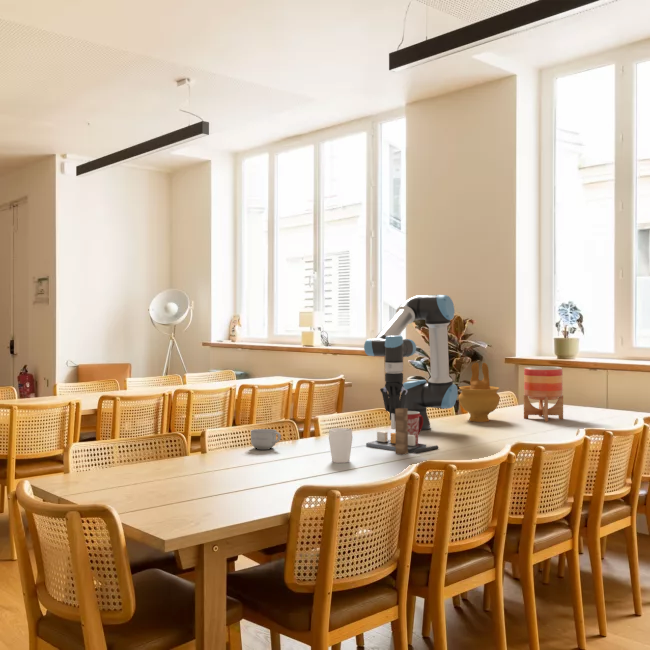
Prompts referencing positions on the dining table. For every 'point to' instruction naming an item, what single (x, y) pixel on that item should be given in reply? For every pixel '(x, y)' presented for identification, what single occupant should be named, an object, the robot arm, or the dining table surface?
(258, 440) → the teacup
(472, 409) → the cactus in yellow pot
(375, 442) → the switch plate
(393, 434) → the block
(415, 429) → the mug
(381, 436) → the paddle
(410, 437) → the cream rectangular box
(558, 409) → the planter
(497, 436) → the dining table surface
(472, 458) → the dining table surface
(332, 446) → the cup
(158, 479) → the dining table surface
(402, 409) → the post
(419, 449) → the dark grey rod
